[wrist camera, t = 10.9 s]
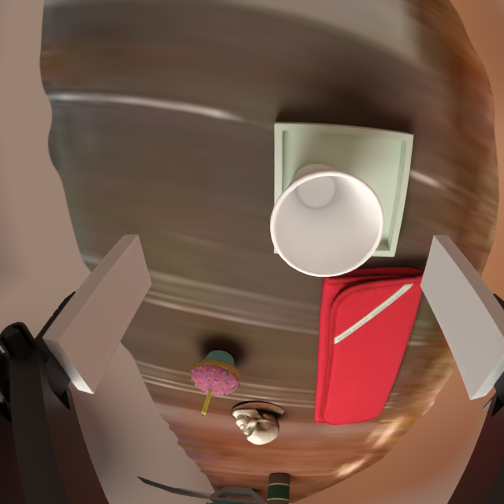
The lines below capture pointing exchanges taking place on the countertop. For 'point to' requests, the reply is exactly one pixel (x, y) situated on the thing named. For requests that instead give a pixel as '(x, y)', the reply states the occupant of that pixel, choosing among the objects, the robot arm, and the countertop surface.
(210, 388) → the cupcake
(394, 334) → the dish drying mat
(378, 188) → the tray
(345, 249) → the cup
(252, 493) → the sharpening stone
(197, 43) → the countertop surface
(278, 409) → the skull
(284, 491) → the beer bottle
